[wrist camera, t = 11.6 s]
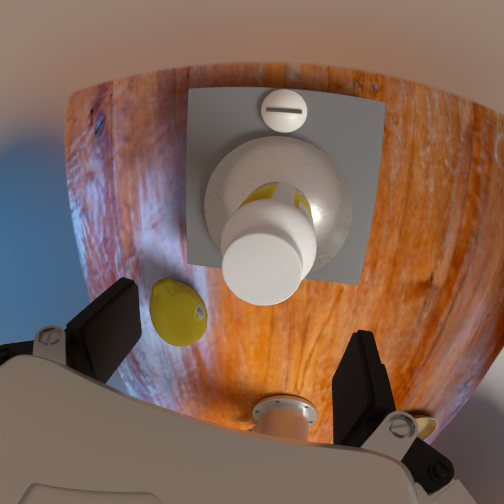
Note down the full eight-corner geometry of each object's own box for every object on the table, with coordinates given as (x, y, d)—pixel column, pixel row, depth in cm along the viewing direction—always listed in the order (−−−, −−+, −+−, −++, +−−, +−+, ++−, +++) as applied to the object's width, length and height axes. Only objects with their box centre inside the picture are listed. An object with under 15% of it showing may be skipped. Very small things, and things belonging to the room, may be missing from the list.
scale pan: (338, 283, 31) (339, 287, 30) (207, 267, 33) (204, 270, 32) (359, 145, 25) (361, 145, 24) (208, 133, 27) (205, 133, 26)
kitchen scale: (352, 265, 35) (359, 287, 30) (201, 248, 38) (185, 266, 32) (373, 107, 27) (387, 101, 22) (204, 95, 30) (185, 87, 25)
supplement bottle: (236, 230, 29) (191, 294, 17) (258, 170, 26) (222, 195, 15) (296, 254, 29) (290, 333, 17) (323, 196, 26) (339, 243, 15)
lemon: (218, 329, 43) (202, 364, 35) (172, 325, 44) (152, 356, 37) (207, 265, 39) (186, 295, 31) (158, 264, 40) (130, 291, 33)
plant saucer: (446, 411, 44) (449, 419, 41) (408, 444, 50) (409, 452, 47) (402, 405, 44) (404, 415, 42) (363, 440, 50) (363, 449, 48)
